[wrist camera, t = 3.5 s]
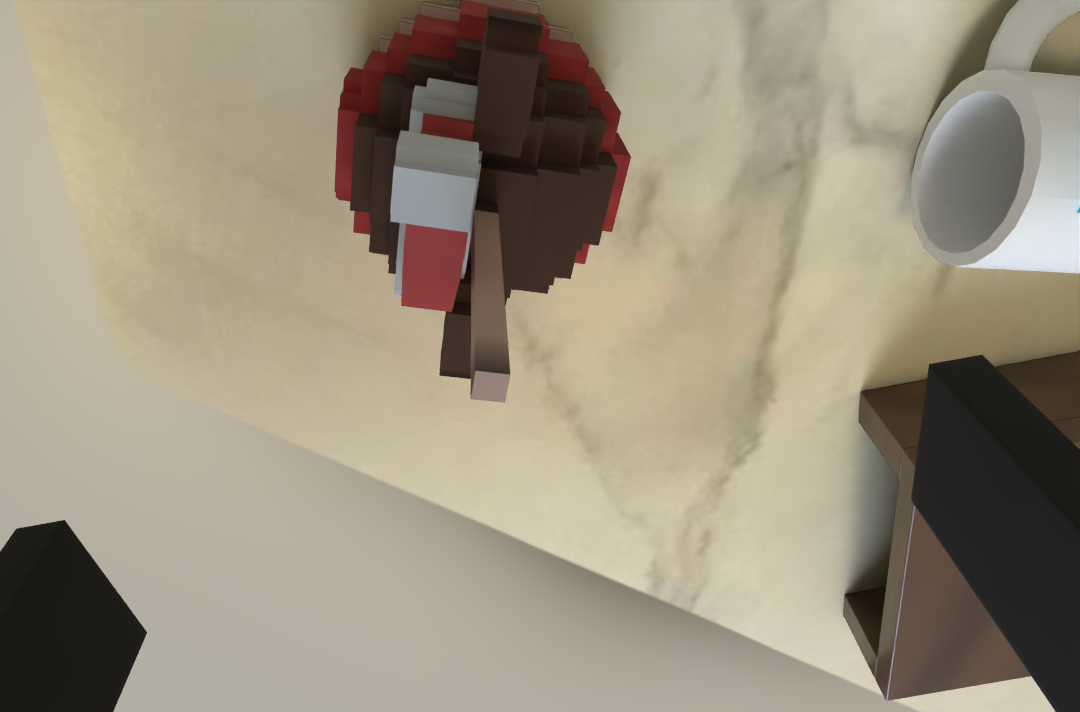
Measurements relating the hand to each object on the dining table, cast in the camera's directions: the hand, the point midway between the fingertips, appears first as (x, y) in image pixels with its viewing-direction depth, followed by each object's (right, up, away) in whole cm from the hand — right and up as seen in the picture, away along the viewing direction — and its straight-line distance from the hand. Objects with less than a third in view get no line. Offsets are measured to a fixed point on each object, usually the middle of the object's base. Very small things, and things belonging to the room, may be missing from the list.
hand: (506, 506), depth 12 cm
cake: (-2, +12, +18) cm, 22 cm away
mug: (+22, +13, +19) cm, 32 cm away
